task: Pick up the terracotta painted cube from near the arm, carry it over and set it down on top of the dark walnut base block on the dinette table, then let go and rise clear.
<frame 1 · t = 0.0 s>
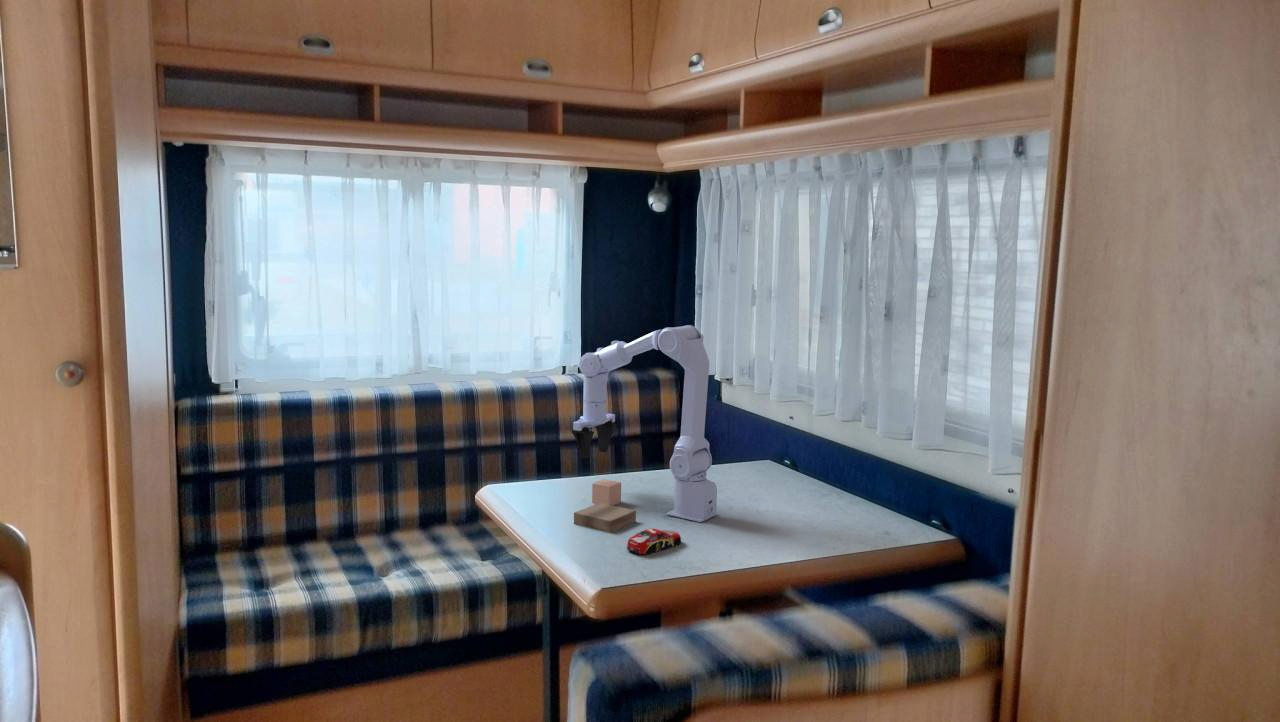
hand: (594, 454, 230), 10 cm above the table, fingers open, 7 cm apart
walnut base block: (604, 524, 208), on the table
terracotta cube: (606, 503, 224), on the table
race car: (654, 549, 193), on the table
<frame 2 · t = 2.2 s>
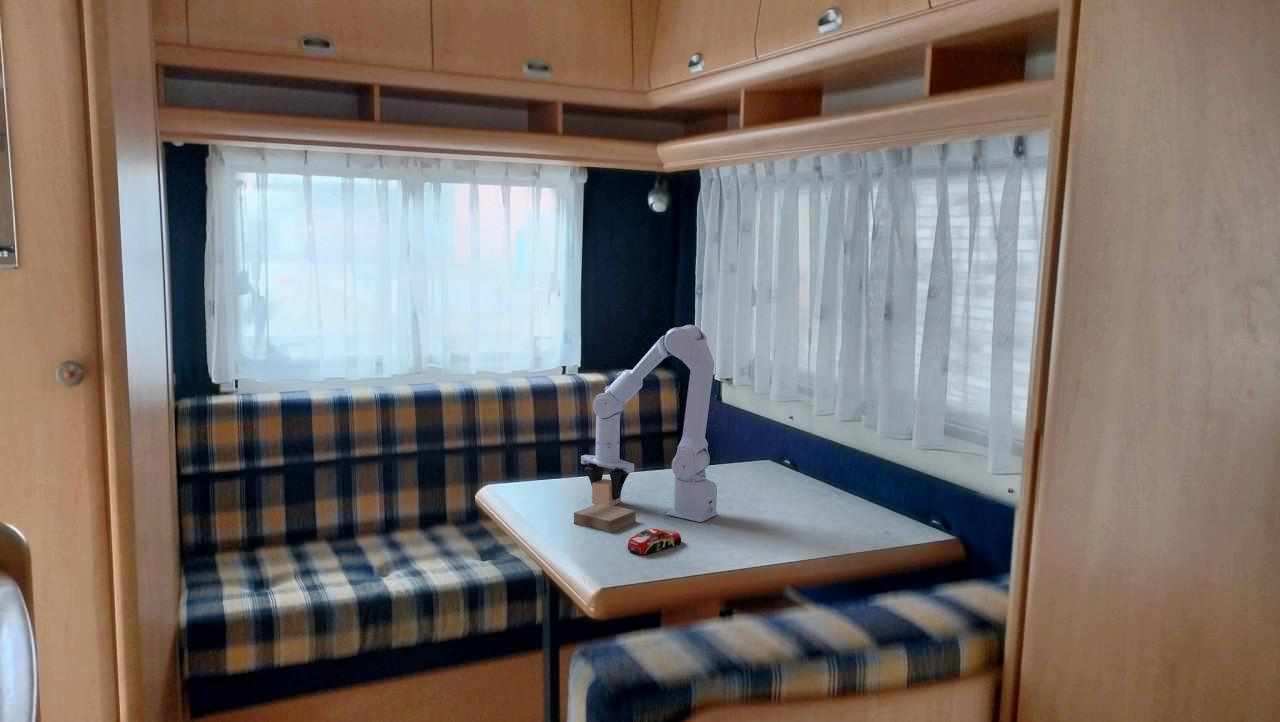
hand: (606, 496, 224), 1 cm above the table, fingers closed on terracotta cube, 5 cm apart
terracotta cube: (606, 502, 224), on the table, touching gripper
everything else where it was.
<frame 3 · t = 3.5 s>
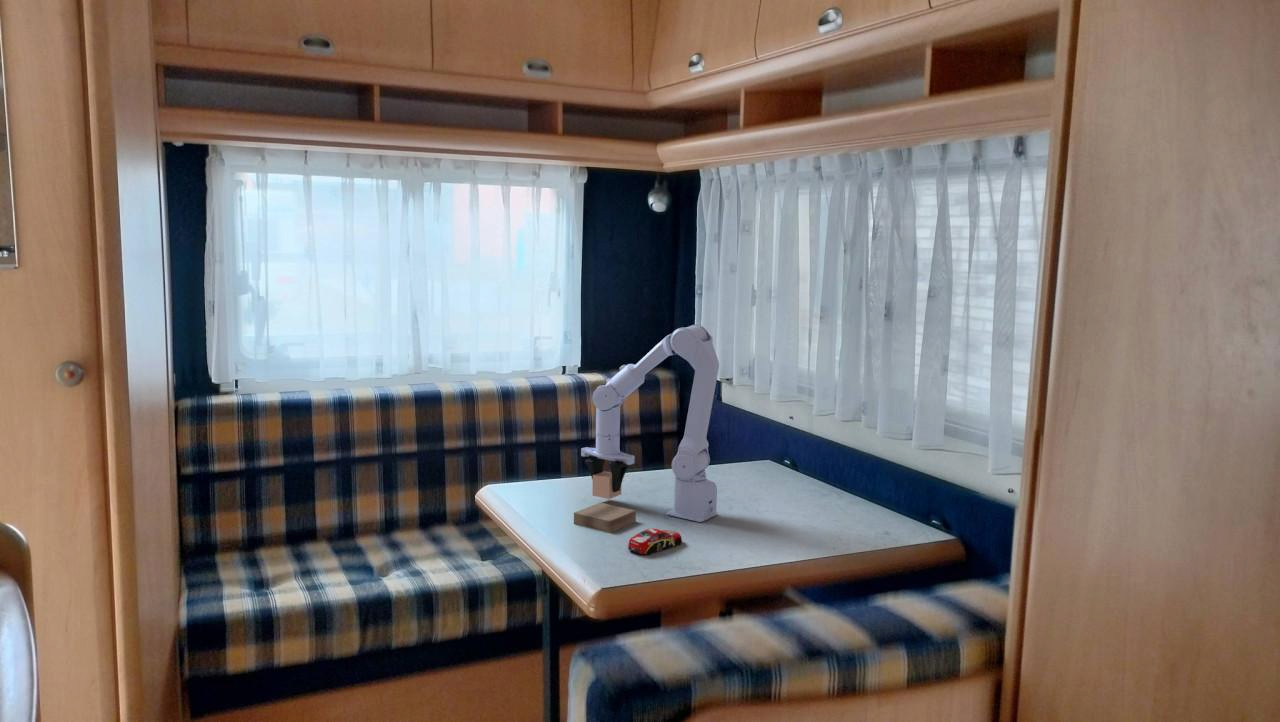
hand: (607, 489, 224), 3 cm above the table, fingers closed on terracotta cube, 5 cm apart
terracotta cube: (606, 494, 224), point 2 cm above the table, touching gripper
everything else where it was.
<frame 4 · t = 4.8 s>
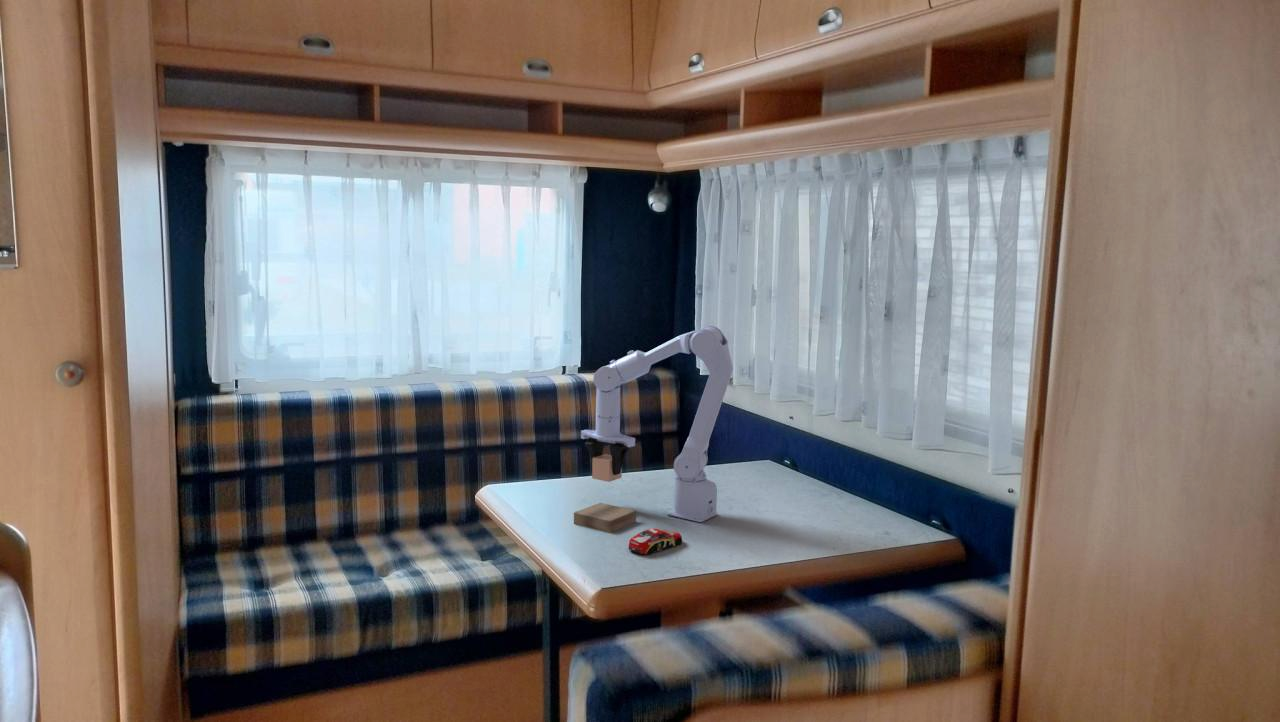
hand: (607, 472, 220), 8 cm above the table, fingers closed on terracotta cube, 5 cm apart
terracotta cube: (606, 478, 220), point 7 cm above the table, touching gripper
everything else where it was.
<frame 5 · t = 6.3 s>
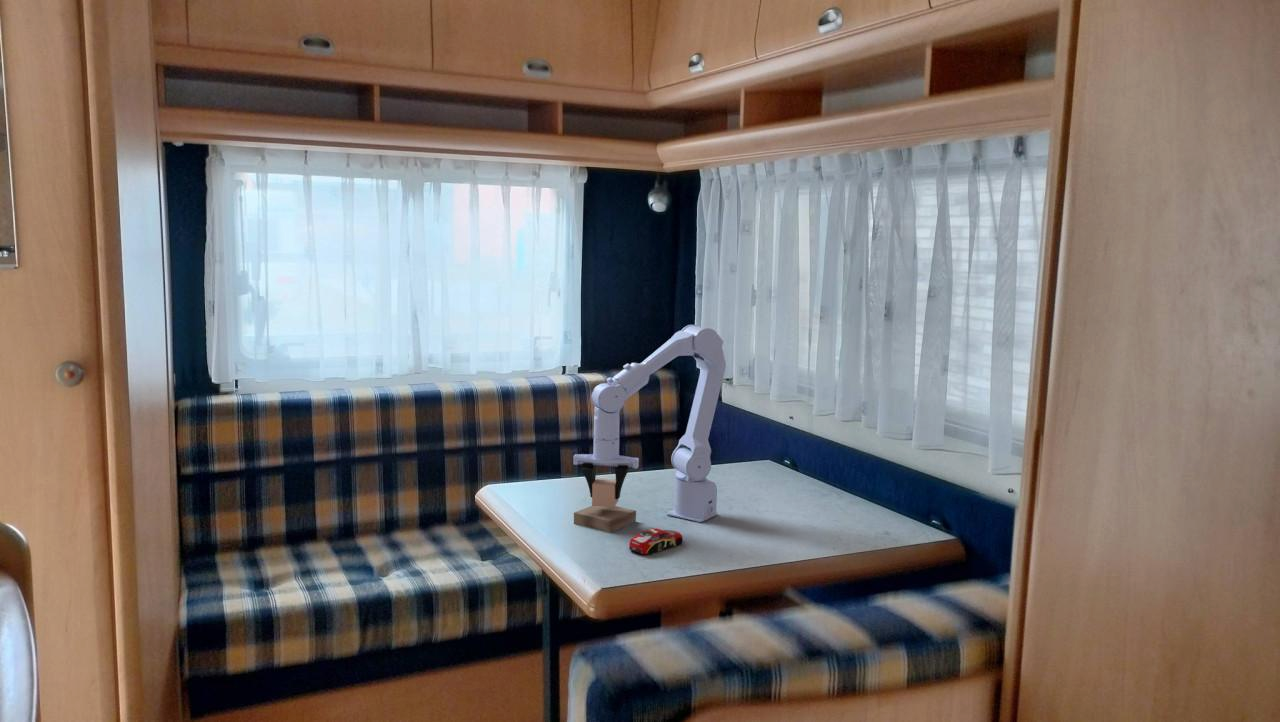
hand: (605, 497, 208), 6 cm above the table, fingers closed on terracotta cube, 5 cm apart
terracotta cube: (605, 503, 208), point 4 cm above the table, touching gripper
everything else where it was.
when the fingers open (5 cm above the table, at t = 7.3 s): terracotta cube drops 1 cm, point 2 cm above the table.
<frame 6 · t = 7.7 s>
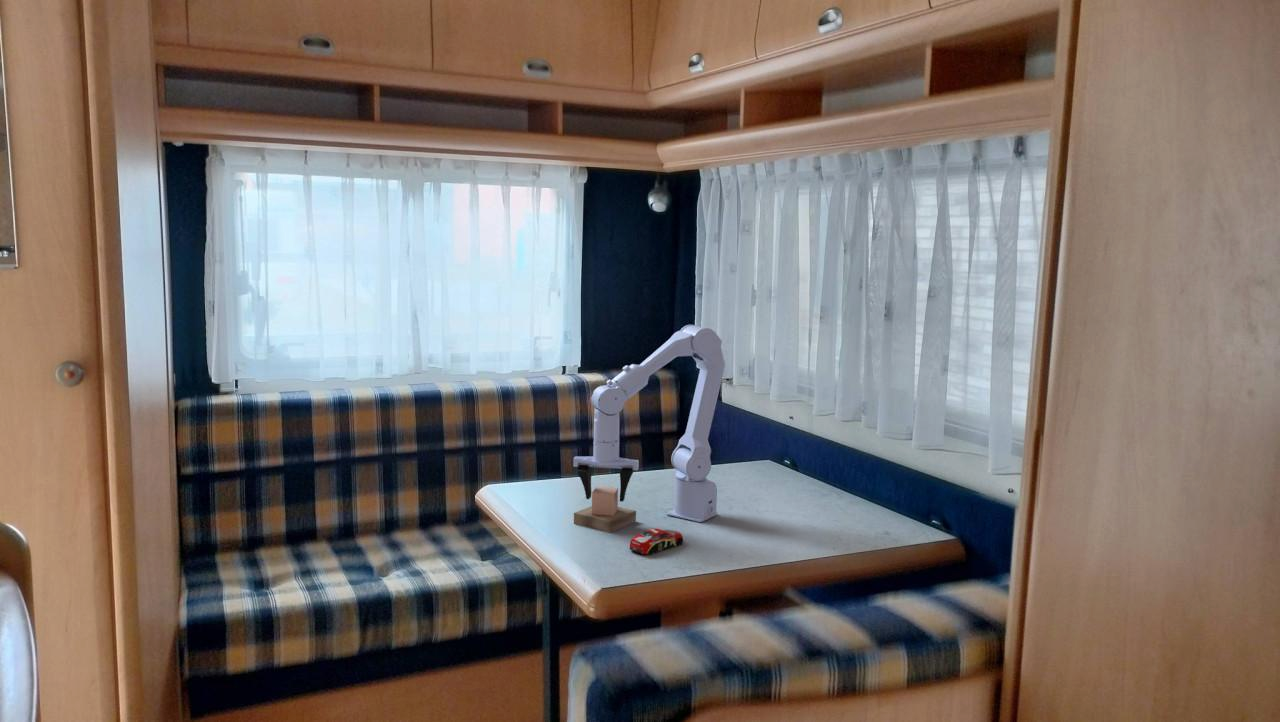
hand: (605, 499, 208), 5 cm above the table, fingers open, 7 cm apart
terracotta cube: (604, 511, 208), point 2 cm above the table
everything else where it was.
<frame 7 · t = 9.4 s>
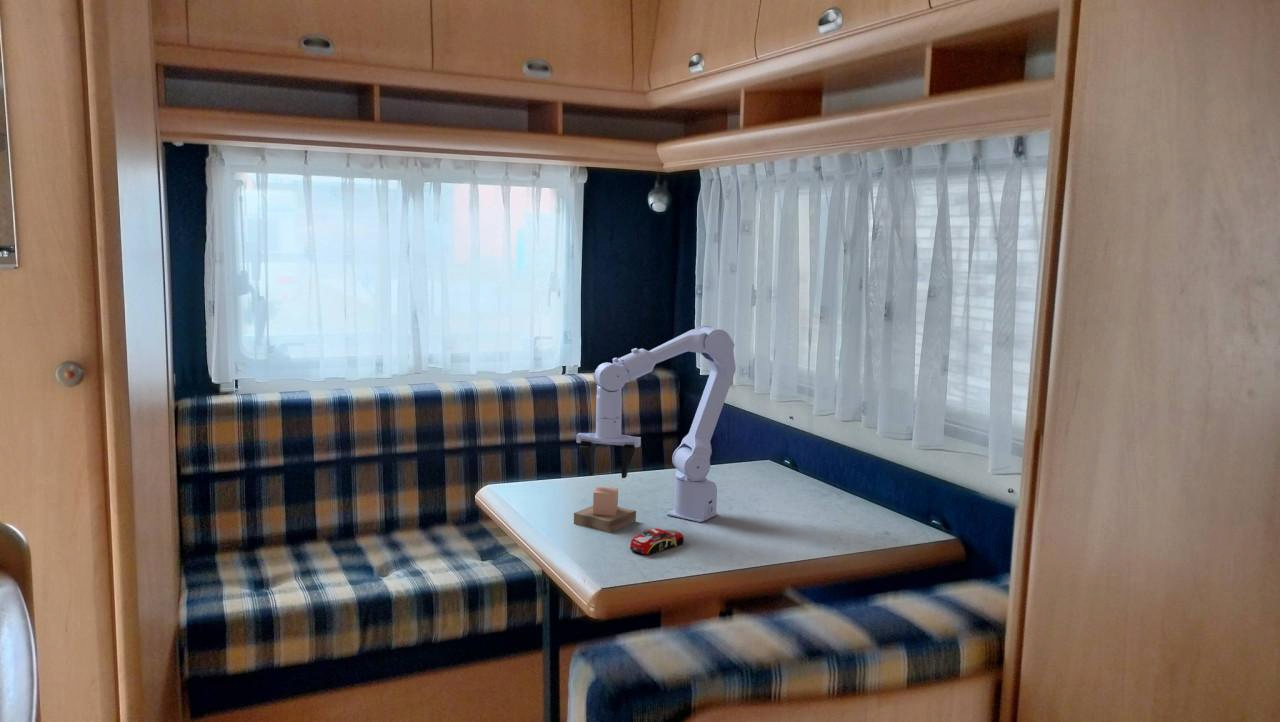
hand: (607, 475, 209), 10 cm above the table, fingers open, 7 cm apart
walnut base block: (604, 524, 208), on the table, touching terracotta cube
terracotta cube: (605, 511, 208), point 2 cm above the table, touching walnut base block
everything else where it was.
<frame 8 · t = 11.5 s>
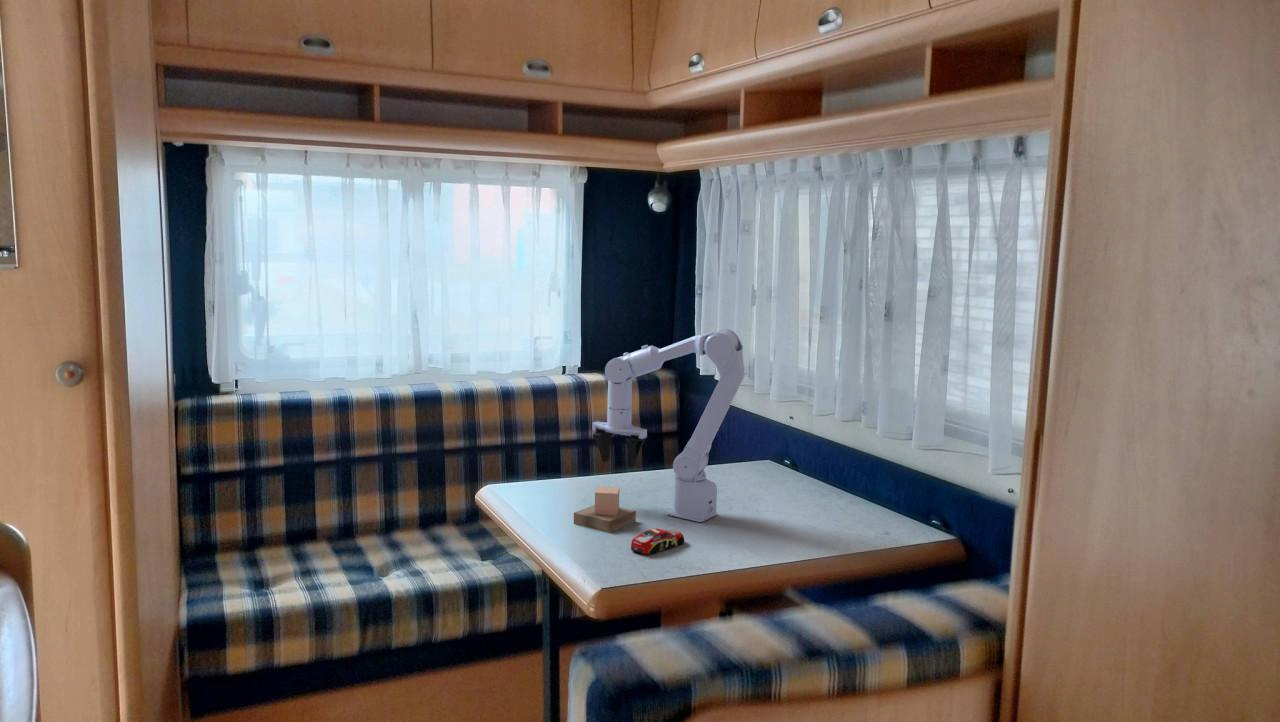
hand: (618, 463, 220), 10 cm above the table, fingers open, 7 cm apart
nothing on the table moved.
at the end: terracotta cube 0.4 cm off-centre on the walnut base block, point 3.0 cm above the walnut base block's base; terracotta cube tilted 1°; the gripper is holding nothing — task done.
